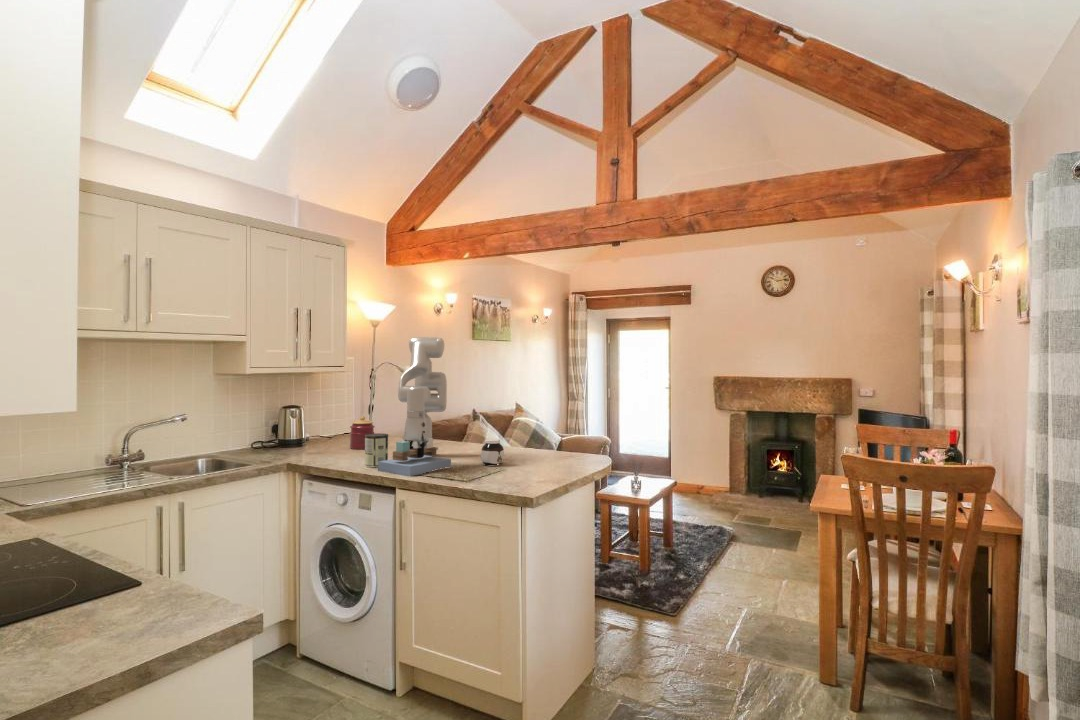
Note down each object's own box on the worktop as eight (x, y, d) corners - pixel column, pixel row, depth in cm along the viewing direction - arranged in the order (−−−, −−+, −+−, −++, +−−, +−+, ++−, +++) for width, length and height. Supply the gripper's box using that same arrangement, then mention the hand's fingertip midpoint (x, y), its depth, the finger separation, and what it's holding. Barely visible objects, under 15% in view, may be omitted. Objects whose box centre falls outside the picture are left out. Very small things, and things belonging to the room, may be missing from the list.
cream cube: (426, 446, 256) (427, 437, 256) (433, 447, 253) (433, 438, 253) (420, 447, 252) (420, 438, 252) (426, 448, 250) (426, 439, 250)
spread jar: (488, 467, 254) (488, 441, 254) (474, 463, 263) (474, 438, 263) (509, 464, 262) (509, 439, 262) (494, 461, 270) (495, 437, 271)
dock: (419, 463, 262) (419, 454, 263) (450, 467, 251) (450, 459, 251) (378, 470, 243) (378, 461, 243) (410, 476, 231) (410, 466, 231)
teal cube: (403, 450, 244) (403, 441, 244) (409, 451, 242) (409, 441, 242) (396, 451, 241) (396, 442, 241) (402, 452, 239) (402, 442, 239)
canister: (345, 449, 306) (345, 416, 306) (356, 446, 318) (357, 414, 319) (367, 450, 303) (368, 417, 304) (378, 446, 316) (378, 415, 316)
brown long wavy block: (426, 453, 257) (427, 446, 257) (436, 455, 254) (436, 447, 254) (392, 459, 241) (392, 451, 241) (402, 461, 237) (402, 452, 237)
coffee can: (375, 463, 262) (375, 432, 263) (392, 464, 258) (393, 434, 258) (359, 466, 253) (359, 435, 253) (377, 468, 249) (377, 436, 249)
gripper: (435, 415, 246) (435, 457, 245) (408, 413, 255) (408, 453, 255) (423, 416, 239) (422, 459, 239) (395, 414, 249) (395, 455, 249)
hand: (415, 455), depth 247 cm, fingers closed on brown long wavy block, 5 cm apart
